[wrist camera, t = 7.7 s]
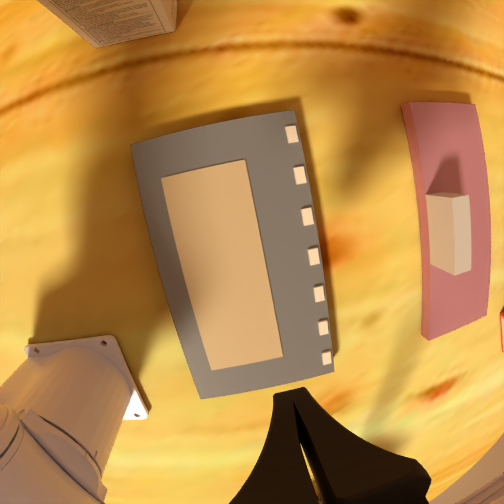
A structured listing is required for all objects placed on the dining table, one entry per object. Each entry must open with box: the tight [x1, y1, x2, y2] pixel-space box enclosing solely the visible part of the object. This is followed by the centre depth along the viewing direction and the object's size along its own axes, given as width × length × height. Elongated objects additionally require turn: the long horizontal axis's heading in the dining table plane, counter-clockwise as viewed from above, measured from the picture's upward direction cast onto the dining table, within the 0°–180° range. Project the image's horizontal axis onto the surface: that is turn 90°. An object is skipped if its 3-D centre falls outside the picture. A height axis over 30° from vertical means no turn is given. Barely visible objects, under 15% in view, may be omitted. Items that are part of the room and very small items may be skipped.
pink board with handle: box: [401, 102, 491, 341], centre depth 19 cm, size 7×18×4 cm, turn 11°
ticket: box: [130, 110, 334, 399], centre depth 20 cm, size 10×18×1 cm, turn 11°
